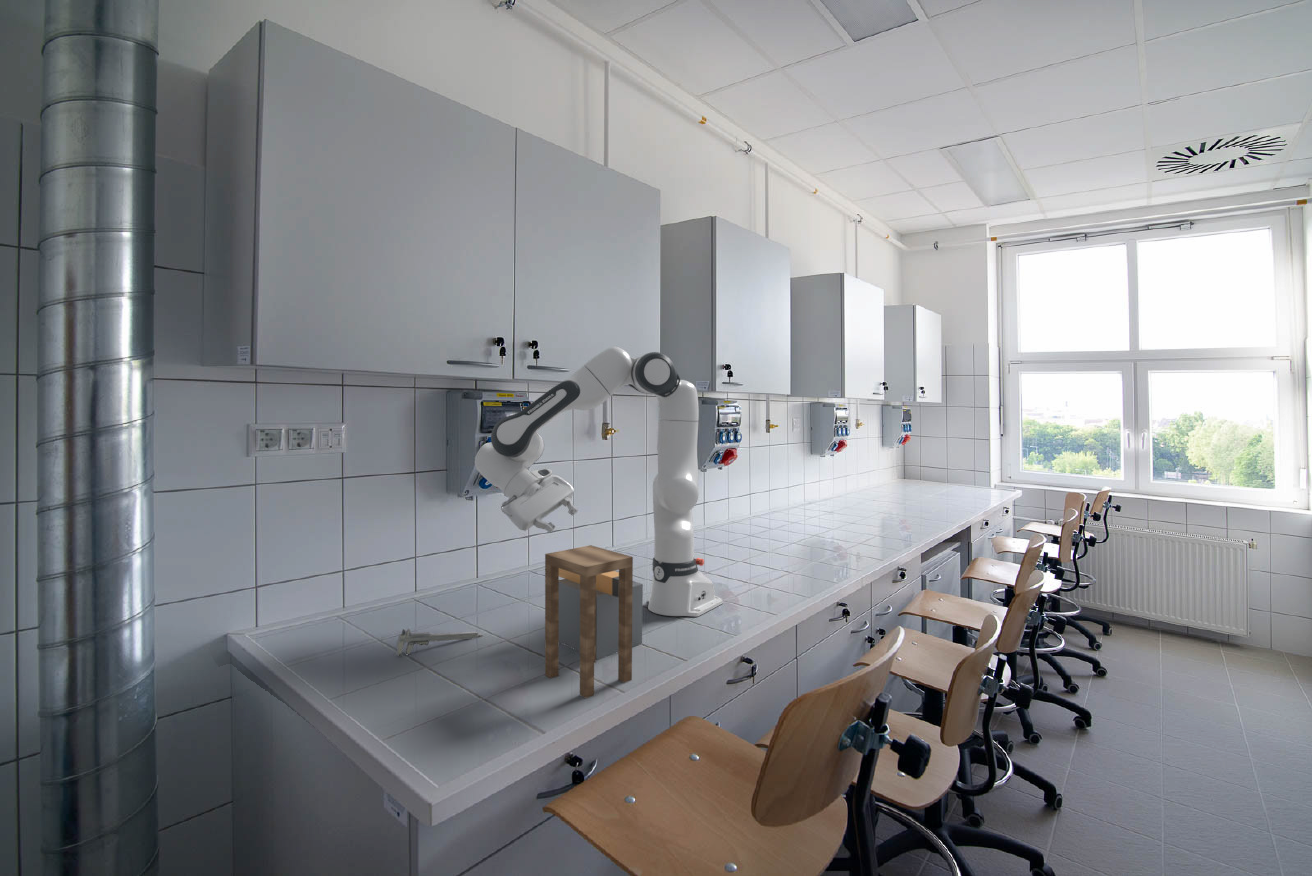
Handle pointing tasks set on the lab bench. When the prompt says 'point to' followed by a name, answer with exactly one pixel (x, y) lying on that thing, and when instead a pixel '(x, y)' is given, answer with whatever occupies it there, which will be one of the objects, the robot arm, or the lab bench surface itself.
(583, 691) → the wooden bar stool
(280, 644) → the lab bench surface
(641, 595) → the crate
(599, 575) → the capped wooden beam
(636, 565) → the lab bench surface
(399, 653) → the caliper
